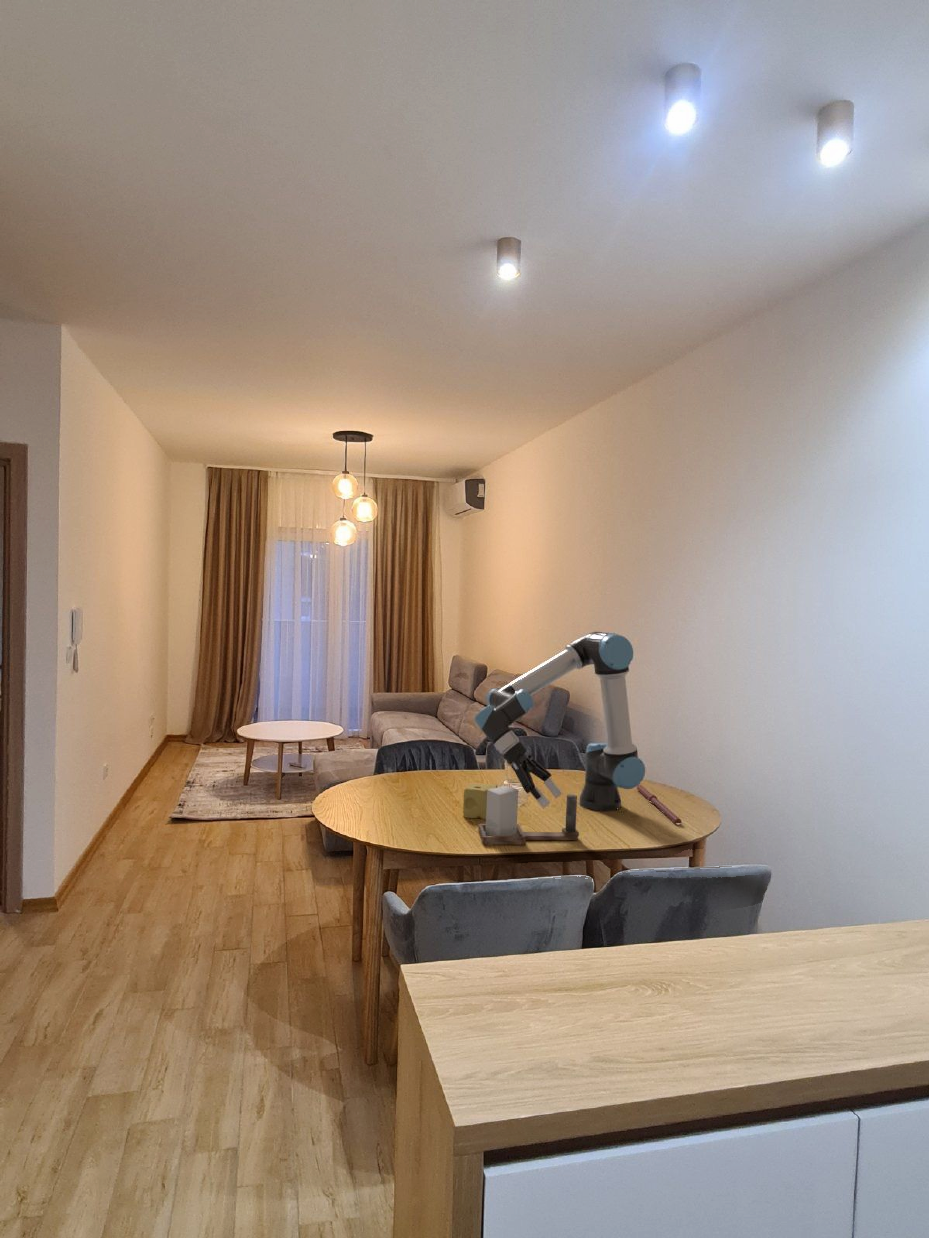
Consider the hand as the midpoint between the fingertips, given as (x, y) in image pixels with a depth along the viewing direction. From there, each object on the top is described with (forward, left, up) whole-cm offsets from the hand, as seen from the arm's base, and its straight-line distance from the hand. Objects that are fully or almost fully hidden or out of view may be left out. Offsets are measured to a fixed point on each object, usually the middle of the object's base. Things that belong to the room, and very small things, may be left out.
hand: (553, 801), depth 245 cm
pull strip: (+8, +2, -11) cm, 14 cm away
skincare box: (+17, +2, -12) cm, 20 cm away
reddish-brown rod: (-47, -35, -12) cm, 60 cm away
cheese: (+21, -23, -12) cm, 33 cm away
